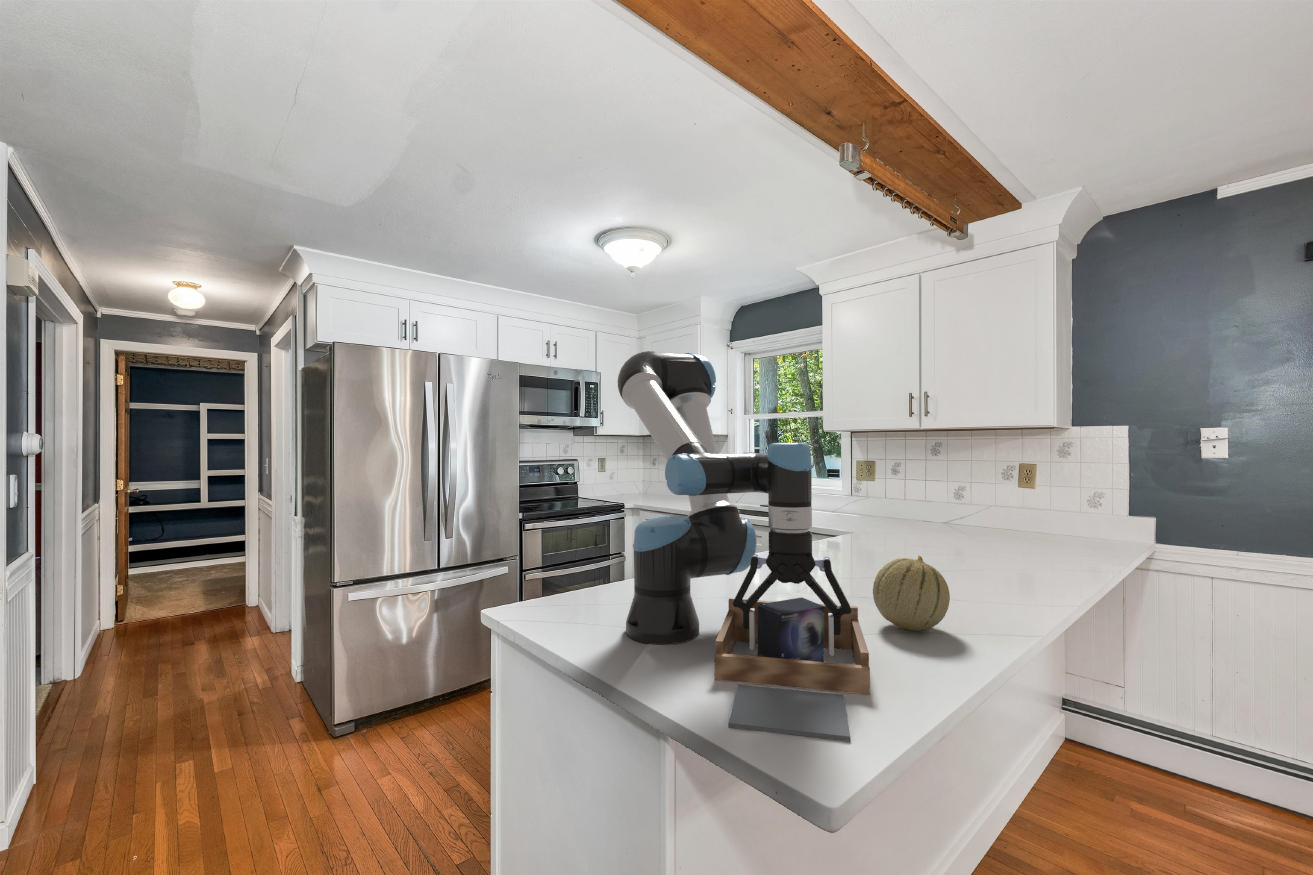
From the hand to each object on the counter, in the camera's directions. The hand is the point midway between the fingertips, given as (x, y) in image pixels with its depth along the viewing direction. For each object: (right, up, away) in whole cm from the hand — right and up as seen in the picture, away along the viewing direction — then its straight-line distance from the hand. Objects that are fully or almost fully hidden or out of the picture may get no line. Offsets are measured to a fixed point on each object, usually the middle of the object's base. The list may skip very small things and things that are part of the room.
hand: (791, 649), depth 102 cm
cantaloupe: (+29, -3, +19) cm, 35 cm away
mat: (-5, -2, -18) cm, 19 cm away
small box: (0, -3, 0) cm, 3 cm away
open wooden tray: (0, -2, 0) cm, 2 cm away
